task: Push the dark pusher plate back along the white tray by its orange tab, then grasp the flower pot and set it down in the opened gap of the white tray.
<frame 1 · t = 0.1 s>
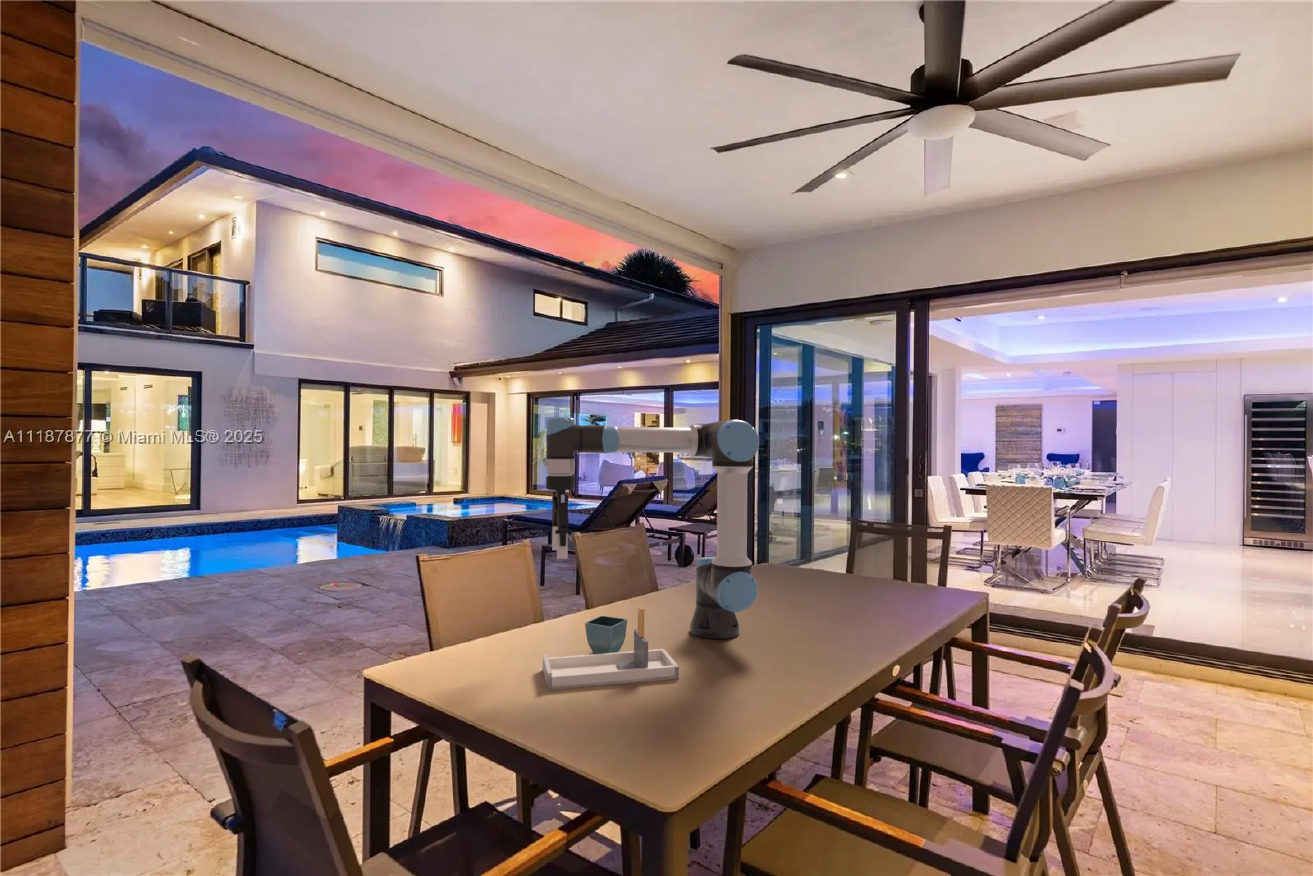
hand: (559, 554, 173), 28 cm above the table, fingers open, 13 cm apart
pusher: (631, 638, 163), point 9 cm above the table, slide at 0.0 cm
flower pot: (606, 654, 177), on the table
white tray: (609, 674, 161), on the table
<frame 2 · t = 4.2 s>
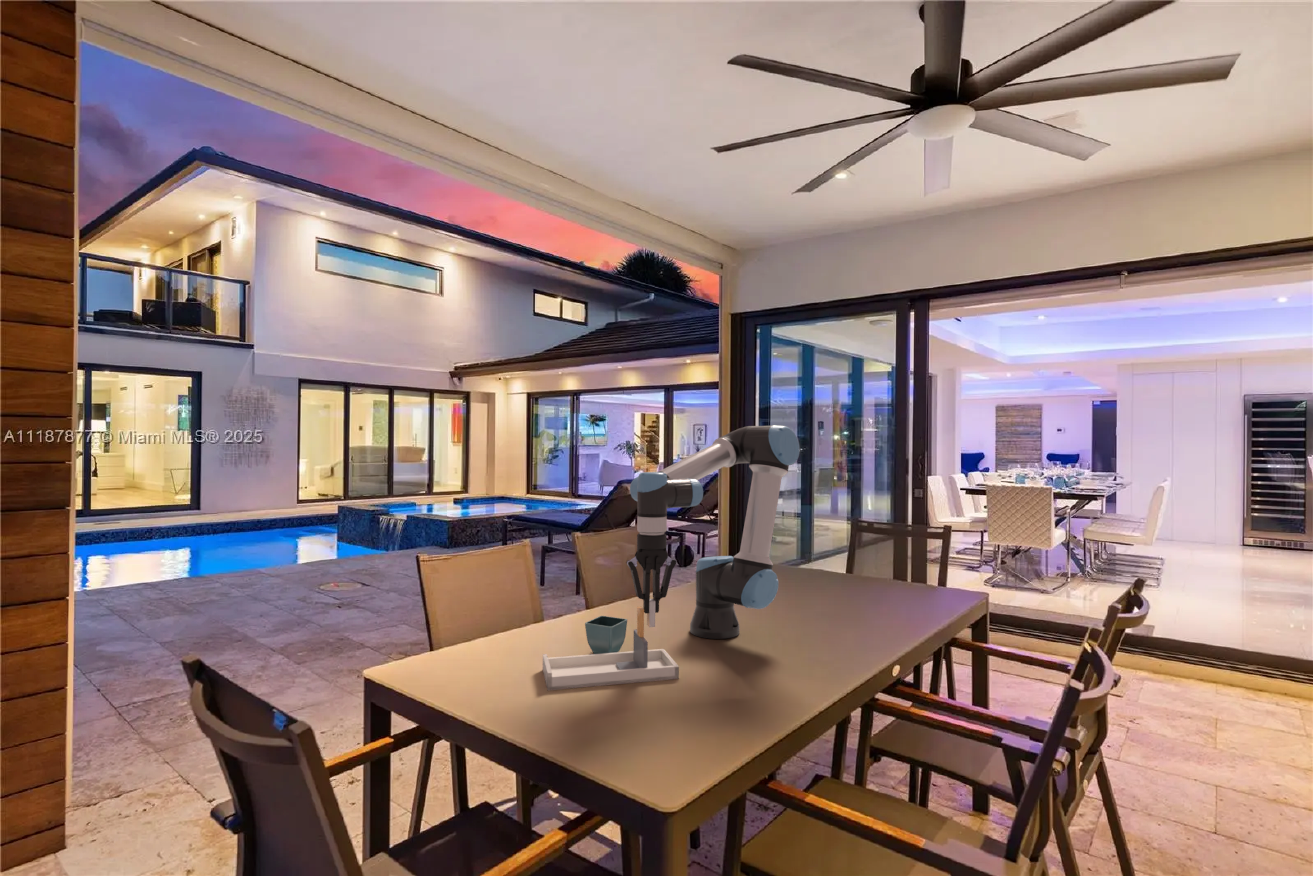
hand: (651, 625, 164), 11 cm above the table, fingers closed
pusher: (630, 638, 163), point 9 cm above the table, slide at 0.1 cm, touching gripper
everything else where it was.
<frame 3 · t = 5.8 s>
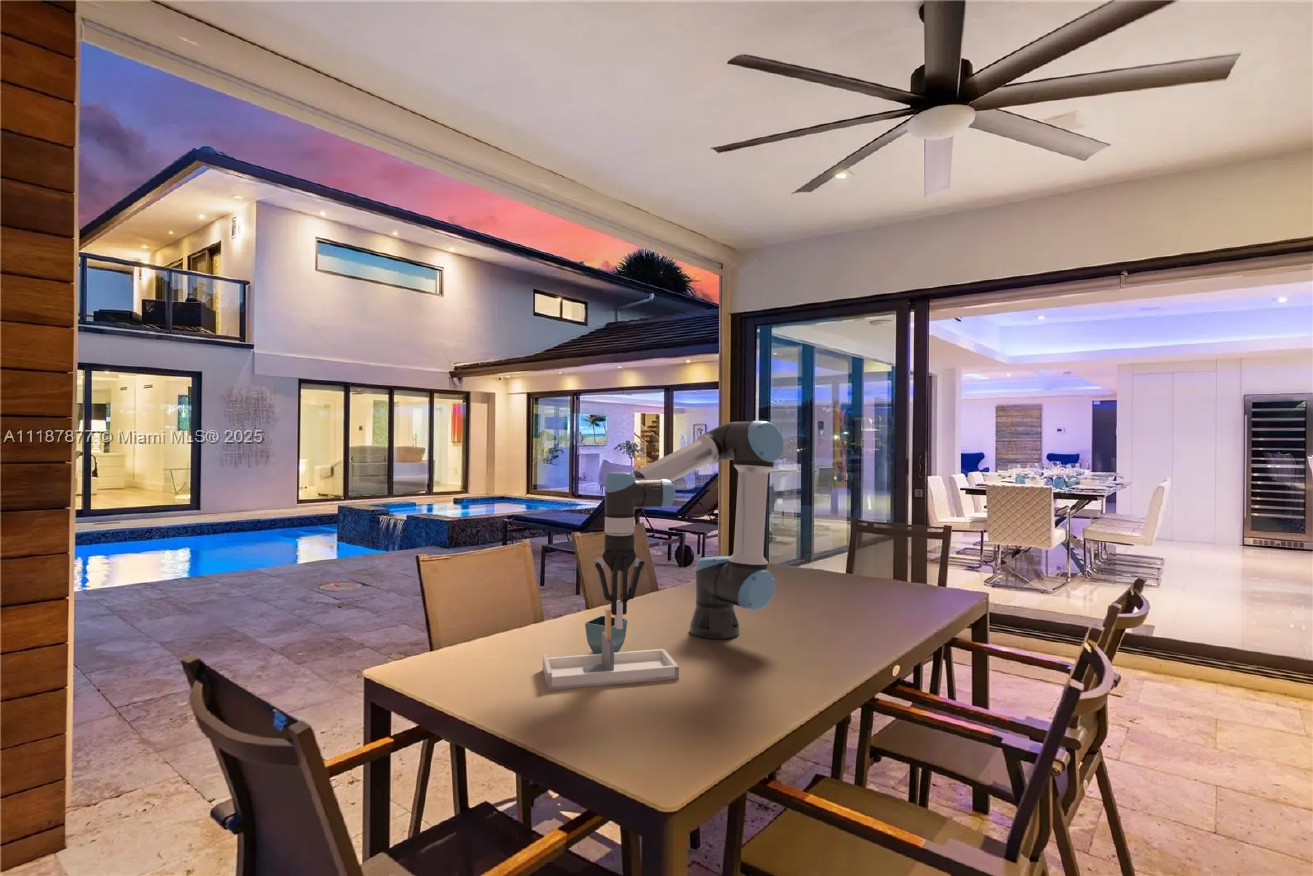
hand: (618, 627, 162), 12 cm above the table, fingers closed
pusher: (597, 640, 161), point 9 cm above the table, slide at 8.5 cm, touching gripper
everything else where it was.
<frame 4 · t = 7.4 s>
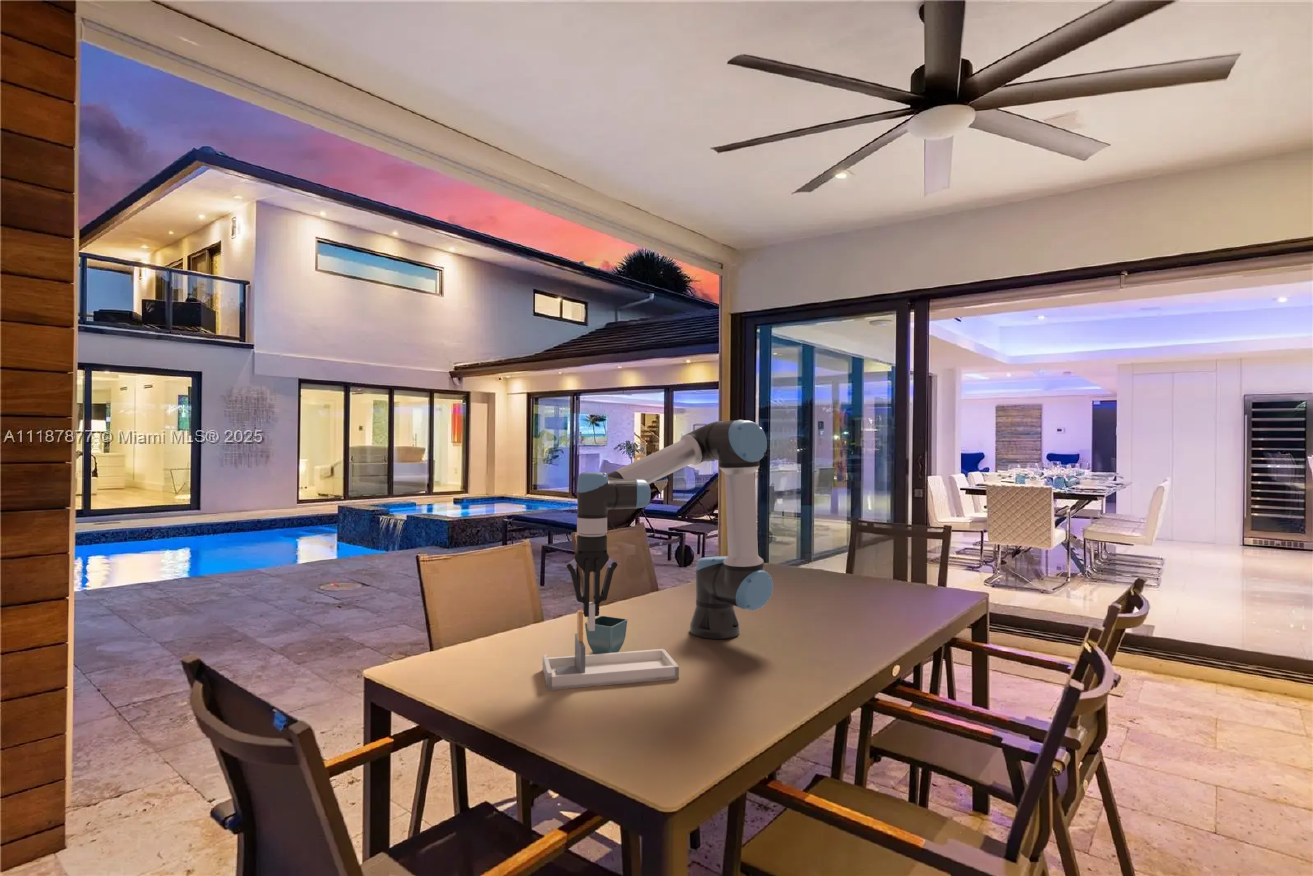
hand: (591, 629, 160), 12 cm above the table, fingers closed
pusher: (569, 642, 159), point 9 cm above the table, slide at 15.5 cm, touching gripper
everything else where it was.
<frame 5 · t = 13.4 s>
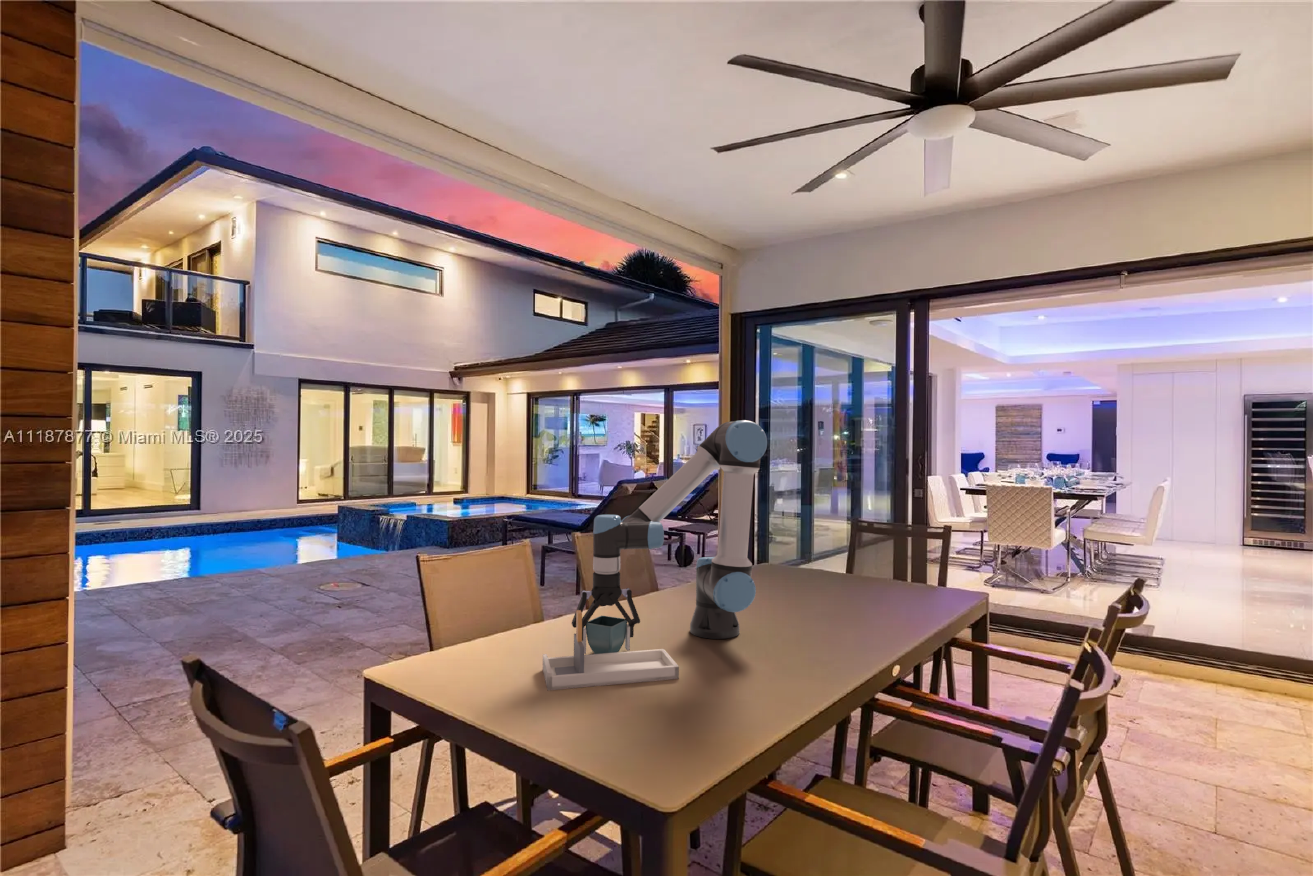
hand: (605, 650, 178), 1 cm above the table, fingers closed on flower pot, 11 cm apart
pusher: (568, 642, 159), point 9 cm above the table, slide at 15.8 cm
flower pot: (606, 654, 178), on the table, touching gripper
when the fingers open (4 cm above the table, at t = 21.2 s): flower pot drops 2 cm, resting on white tray.
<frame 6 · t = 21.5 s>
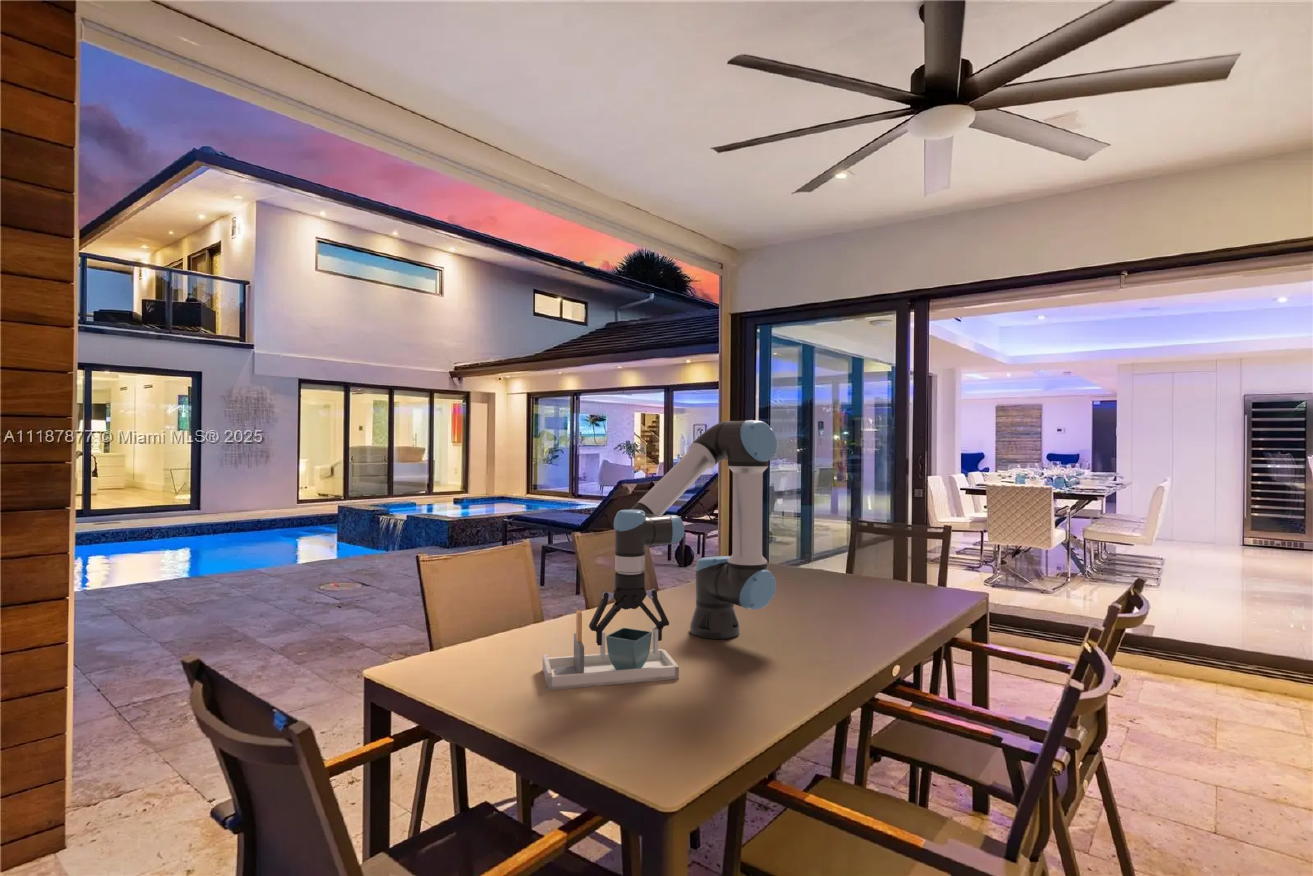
hand: (629, 655, 163), 4 cm above the table, fingers open, 13 cm apart
flower pot: (628, 670, 163), point 1 cm above the table, touching white tray
everything else where it was.
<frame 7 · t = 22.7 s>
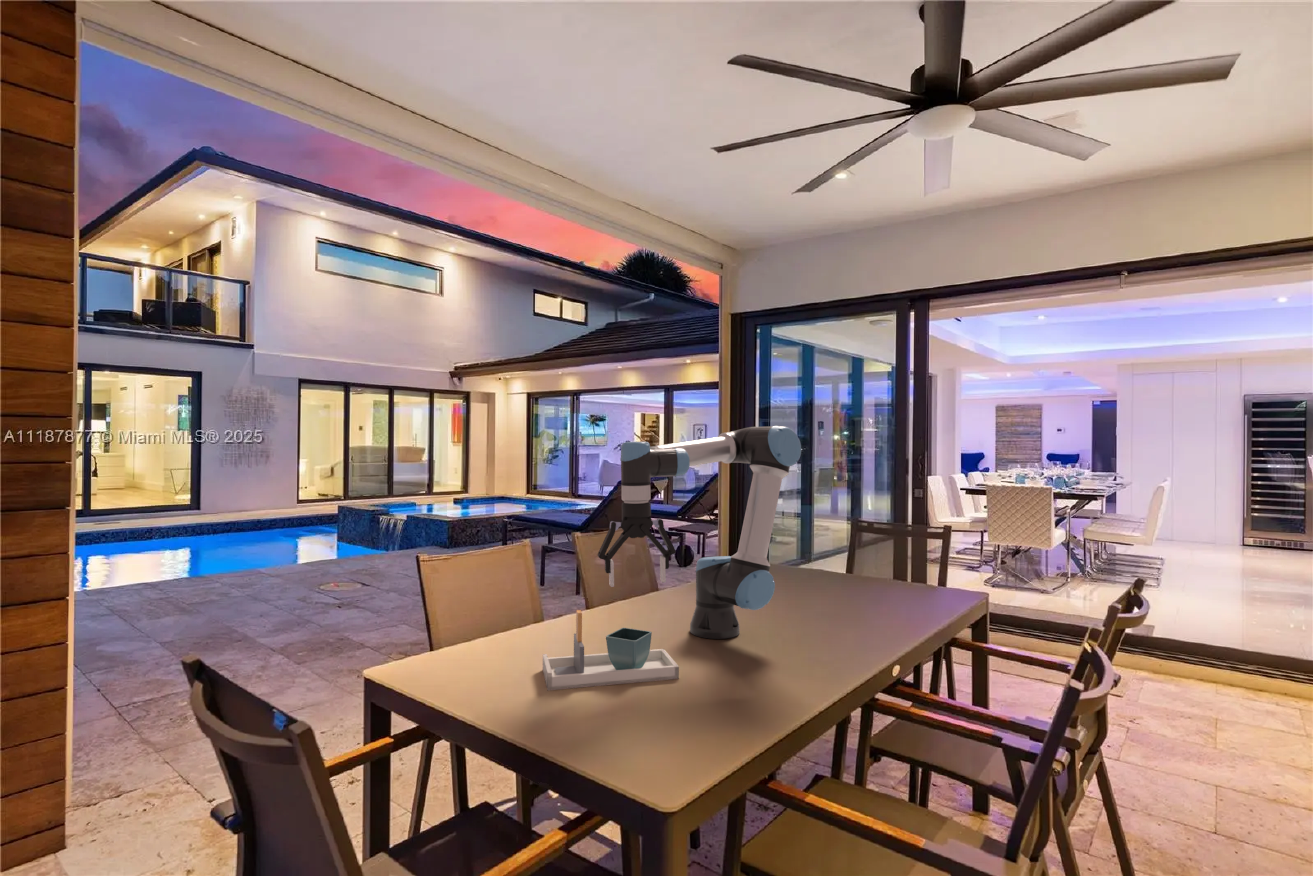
hand: (637, 583, 167), 22 cm above the table, fingers open, 13 cm apart
nothing on the table moved.
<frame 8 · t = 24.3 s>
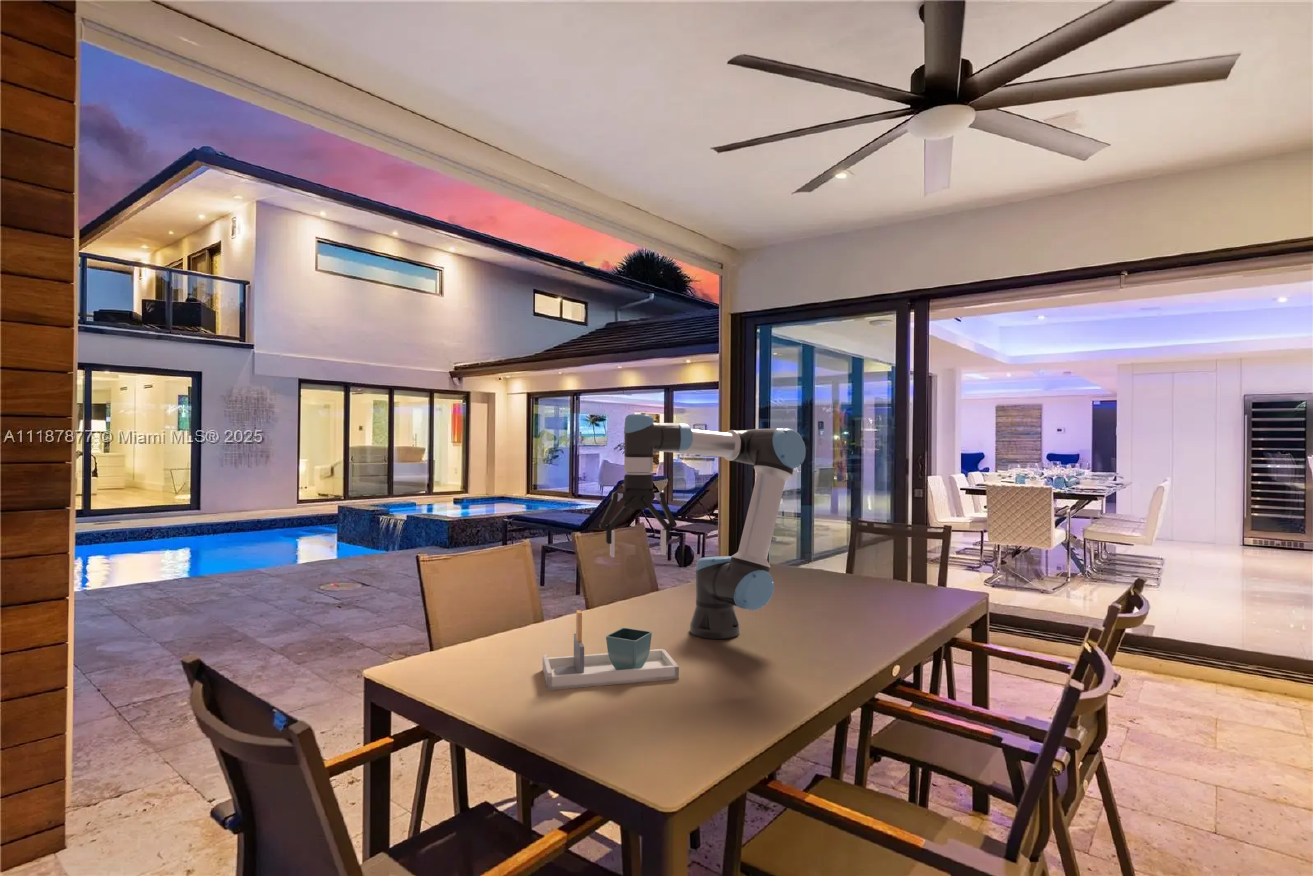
hand: (637, 555, 168), 29 cm above the table, fingers open, 13 cm apart
nothing on the table moved.
at the end: flower pot inside the target area on the white tray (0.1 cm from its centre), point 0.6 cm above the white tray's base; flower pot tilted 0°; pusher slide at 15.8 cm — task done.
